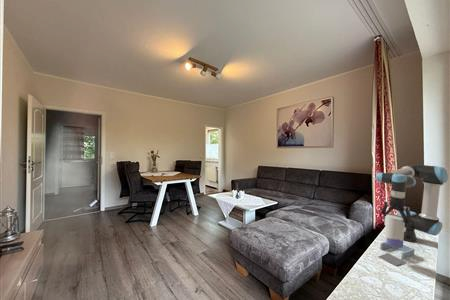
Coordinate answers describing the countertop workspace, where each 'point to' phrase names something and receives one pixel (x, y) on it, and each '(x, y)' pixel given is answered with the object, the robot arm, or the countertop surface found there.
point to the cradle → (406, 250)
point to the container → (394, 230)
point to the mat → (392, 259)
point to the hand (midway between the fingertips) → (394, 227)
